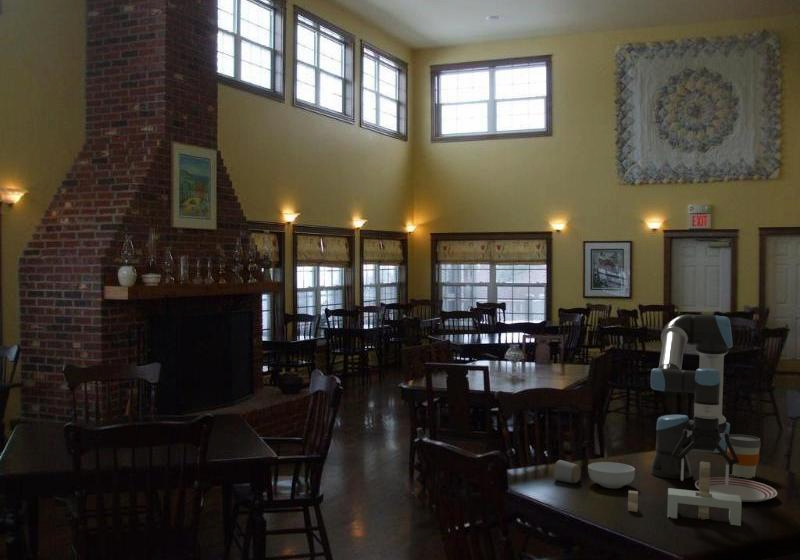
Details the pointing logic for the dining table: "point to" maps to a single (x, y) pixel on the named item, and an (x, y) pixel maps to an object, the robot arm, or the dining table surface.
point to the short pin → (633, 501)
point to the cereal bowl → (611, 474)
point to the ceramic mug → (566, 472)
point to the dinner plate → (741, 489)
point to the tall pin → (704, 488)
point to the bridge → (705, 502)
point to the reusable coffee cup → (745, 454)
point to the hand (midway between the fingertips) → (704, 482)
